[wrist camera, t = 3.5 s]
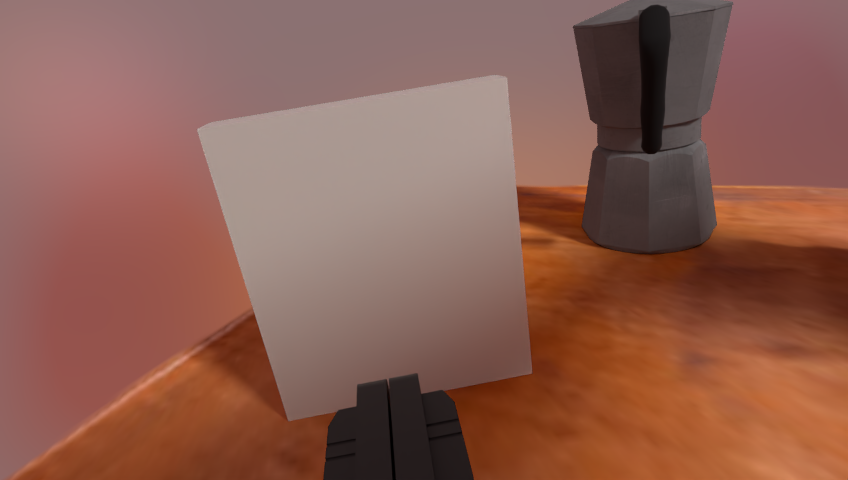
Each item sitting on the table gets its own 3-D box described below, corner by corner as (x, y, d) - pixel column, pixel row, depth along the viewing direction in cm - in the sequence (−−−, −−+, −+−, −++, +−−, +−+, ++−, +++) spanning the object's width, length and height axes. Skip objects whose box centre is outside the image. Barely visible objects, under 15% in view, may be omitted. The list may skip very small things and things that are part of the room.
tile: (520, 350, 27) (494, 74, 22) (532, 373, 25) (506, 77, 20) (293, 394, 26) (211, 122, 21) (288, 421, 24) (197, 129, 19)
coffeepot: (586, 202, 46) (578, -20, 39) (705, 198, 42) (719, -46, 36) (570, 283, 33) (555, -30, 26) (741, 287, 29) (773, -72, 23)
